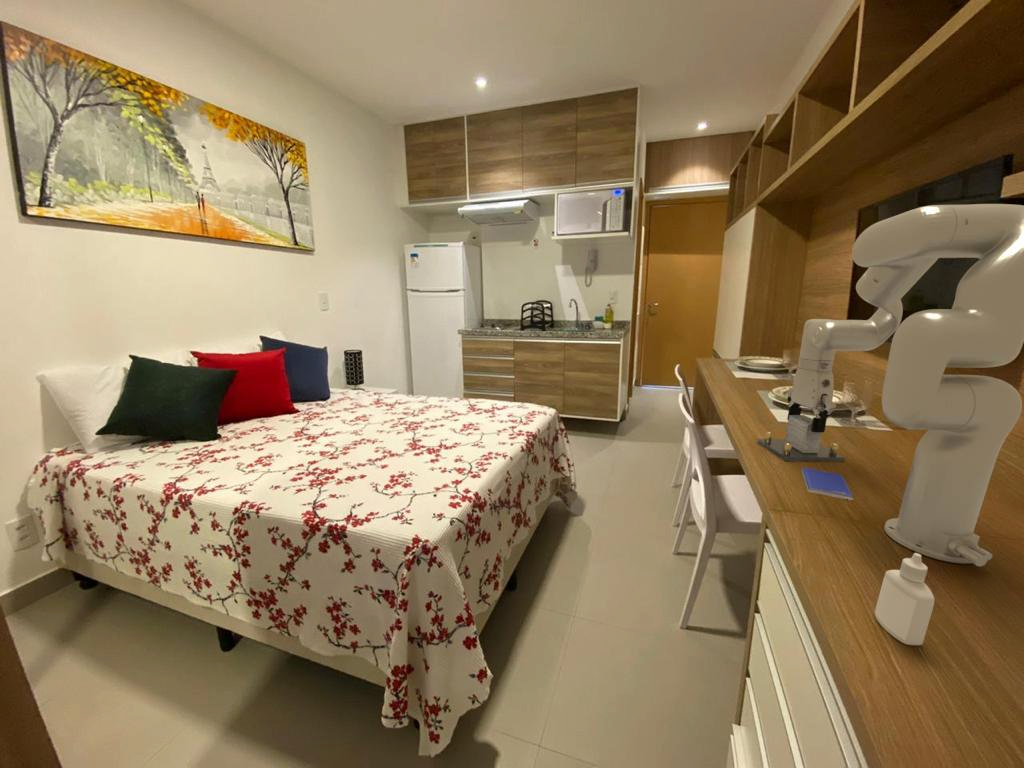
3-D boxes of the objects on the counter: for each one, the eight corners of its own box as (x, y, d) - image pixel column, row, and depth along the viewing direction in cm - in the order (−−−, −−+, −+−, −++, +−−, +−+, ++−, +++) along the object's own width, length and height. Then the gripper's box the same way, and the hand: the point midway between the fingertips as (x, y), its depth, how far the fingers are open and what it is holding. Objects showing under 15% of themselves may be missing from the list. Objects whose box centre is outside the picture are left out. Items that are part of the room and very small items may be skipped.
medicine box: (818, 453, 113) (824, 423, 111) (802, 453, 113) (807, 423, 111) (799, 442, 121) (804, 414, 119) (783, 442, 121) (788, 414, 119)
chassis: (844, 461, 111) (847, 447, 110) (785, 461, 111) (787, 446, 110) (810, 443, 124) (813, 429, 123) (757, 442, 124) (759, 429, 123)
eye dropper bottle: (880, 637, 56) (901, 560, 53) (872, 610, 61) (890, 538, 58) (924, 652, 54) (948, 573, 51) (912, 622, 59) (933, 548, 56)
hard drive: (853, 496, 91) (842, 474, 102) (809, 487, 95) (802, 467, 106) (852, 503, 92) (841, 480, 102) (807, 494, 95) (801, 472, 106)
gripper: (855, 371, 103) (842, 437, 107) (806, 360, 120) (797, 417, 124) (824, 371, 103) (813, 436, 107) (780, 360, 120) (772, 417, 123)
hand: (804, 426), depth 115 cm, fingers open, 9 cm apart
